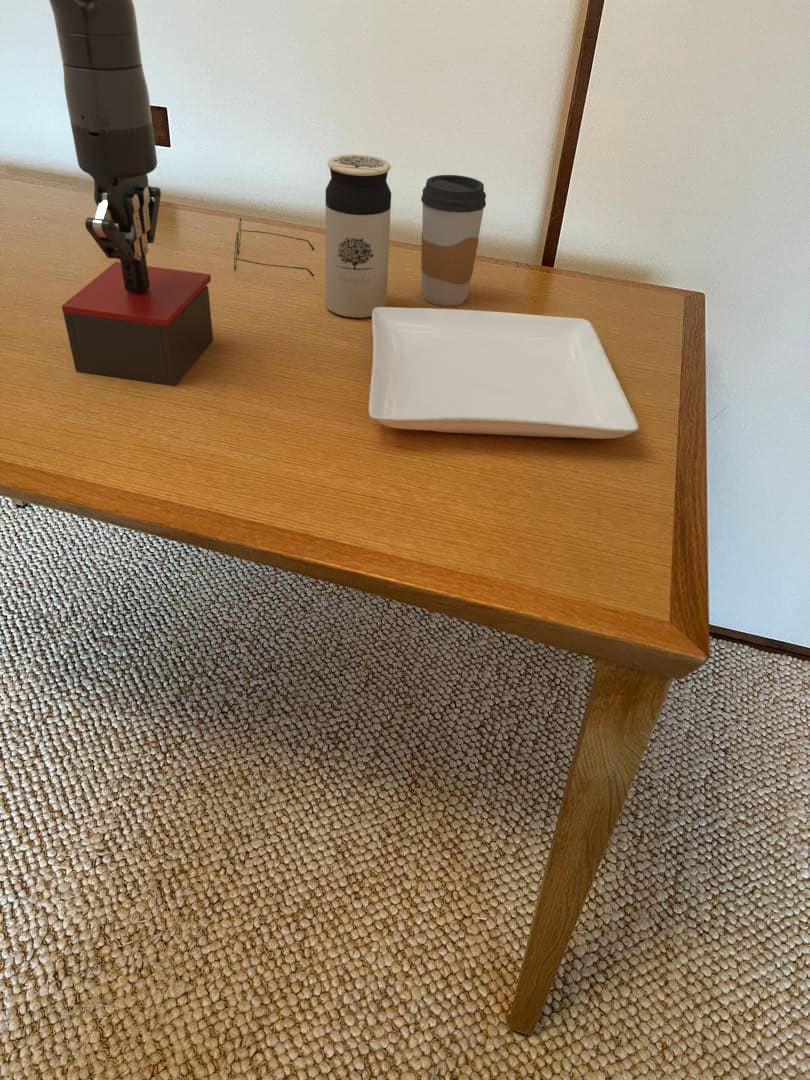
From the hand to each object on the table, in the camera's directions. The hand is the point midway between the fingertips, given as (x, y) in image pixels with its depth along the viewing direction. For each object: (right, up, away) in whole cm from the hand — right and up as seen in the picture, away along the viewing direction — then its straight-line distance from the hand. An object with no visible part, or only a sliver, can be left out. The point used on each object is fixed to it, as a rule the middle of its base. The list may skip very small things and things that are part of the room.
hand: (137, 290), depth 89 cm
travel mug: (+23, +3, +19) cm, 30 cm away
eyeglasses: (+10, +13, +29) cm, 34 cm away
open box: (-1, -6, +5) cm, 8 cm away
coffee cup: (+35, +6, +23) cm, 42 cm away
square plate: (+39, -10, +4) cm, 40 cm away
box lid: (0, 0, +1) cm, 1 cm away
